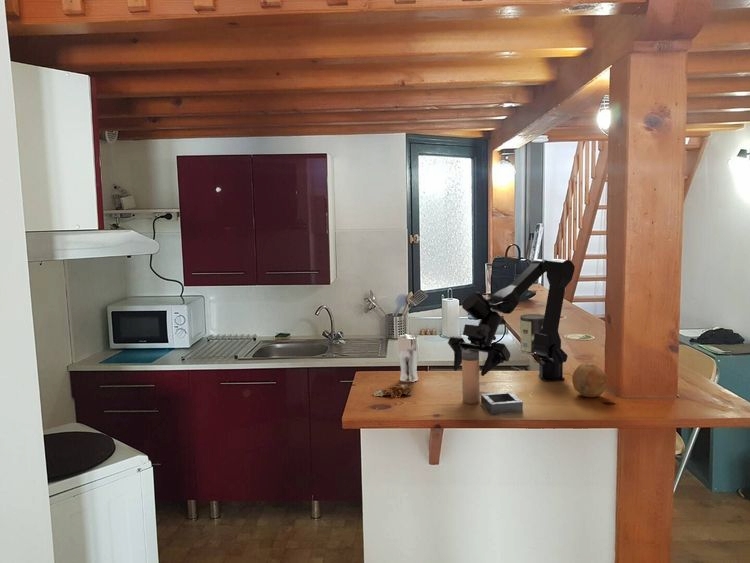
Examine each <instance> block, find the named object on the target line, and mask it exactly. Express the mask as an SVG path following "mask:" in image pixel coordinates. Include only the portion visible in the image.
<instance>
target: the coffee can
mask: <svg viewBox="0 0 750 563" xmlns="http://www.w3.org/2000/svg"><path fill="white" fill-rule="evenodd" d="M544 315H545V314H539V313H529V314H528V313H527V314H522V315H520V316H519V320H520V329H519V330H520V335H519V336H520V353H522V354H525V355H530V356H535V355H534V352H535V350H534V348H533V346H534V345H533V344H532V343H533V341H534V334H535V333H539V332H540V330H541V329H542V327H543V321H544Z"/></svg>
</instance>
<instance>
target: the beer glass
mask: <svg viewBox="0 0 750 563" xmlns="http://www.w3.org/2000/svg"><path fill="white" fill-rule="evenodd" d="M418 337H419V336H418V335H416V334H409V333H407V334H401V335H398V336H397V356H398V360H399V366H400V377H399V380H400V382H403V383H408V382H410V383H415V381H416V382H417V381H419V377H418V371H417V369H418V368H417V367H418V366H417V365H418V360H419V349H420V348H419V340H418V339H419V338H418Z"/></svg>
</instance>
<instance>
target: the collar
mask: <svg viewBox="0 0 750 563" xmlns="http://www.w3.org/2000/svg"><path fill="white" fill-rule="evenodd" d="M523 403H524V402H523V401H522V400H521V399H520V398H519V397H518V396H516V395H515V394H514V393H513V392H511V391H502V392H491V393H489V392H488V393H480V404H481V405H482V407H483V408H484V409H485V410H486V411H487V412H488V413H489V414H490V415H491V416H495V415H505V414H506V415H508V414H517V413H523V412H524V411H523V410H524V409H523V408H524V407H523V406H524V405H523Z"/></svg>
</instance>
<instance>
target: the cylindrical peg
mask: <svg viewBox="0 0 750 563" xmlns="http://www.w3.org/2000/svg"><path fill="white" fill-rule="evenodd" d="M461 378H462V379H461V382H462V384H461V385H462V402H463V403H464V404H468V405H475V404H478V403H481V392H480V391H481V390H480V389H481V388H480V387H481V386H480V384H481V383H480V351H477V350H463V351H462V363H461Z"/></svg>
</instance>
